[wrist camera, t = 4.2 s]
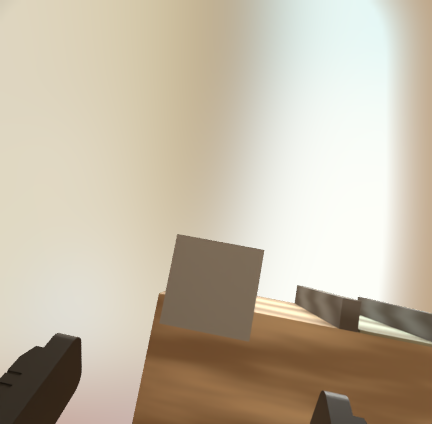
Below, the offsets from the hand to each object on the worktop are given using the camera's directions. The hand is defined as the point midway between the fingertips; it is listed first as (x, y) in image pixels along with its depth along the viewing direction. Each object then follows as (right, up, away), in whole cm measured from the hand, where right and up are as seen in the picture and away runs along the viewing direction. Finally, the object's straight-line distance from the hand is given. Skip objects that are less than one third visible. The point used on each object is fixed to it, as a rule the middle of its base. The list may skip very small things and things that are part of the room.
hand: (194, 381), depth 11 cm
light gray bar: (+1, -1, +15) cm, 15 cm away
